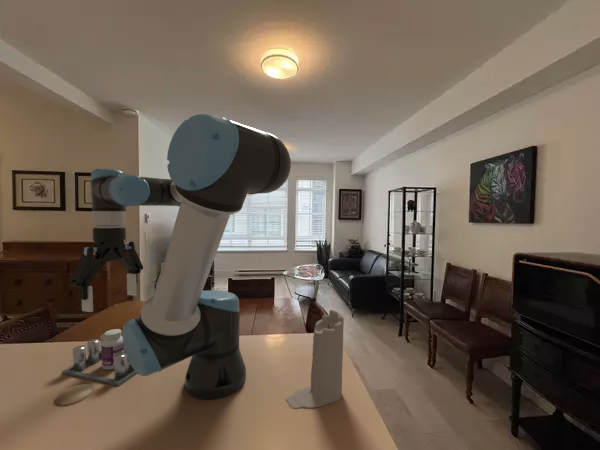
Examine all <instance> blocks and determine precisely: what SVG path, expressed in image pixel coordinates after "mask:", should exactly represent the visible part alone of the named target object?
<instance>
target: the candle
mask: <svg viewBox="0 0 600 450" xmlns="http://www.w3.org/2000/svg"><path fill="white" fill-rule="evenodd" d="M312 337H313V338H312V339H313V340H312V341H313V342H312V359H311V372H310V373H311V374H310V385H309V386H306V387H303V388H299V389H298V390H296V391H294V392H293V394H292V395H290V396H288V397H286V398H285V401H287V404H288V405H289V407H291V408H292V409H299V408H304V409H305V408H306V409H313V408H314V409H315V408H319V407H322V406H325V405H328V404H329V405H330V404H333V403H337V402H338V401H340V400H341V398H342V396H343V395H342V394H343V393H342V392H343V360H344V359H343V355H344V317H343V314H341V313H339V312H338V311H336V310H334V309H330V310H329V314H323V315H322V316H321V319H320V320H317V322H316V323H315V325H314V332H313V336H312Z"/></svg>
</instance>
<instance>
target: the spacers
mask: <svg viewBox="0 0 600 450" xmlns="http://www.w3.org/2000/svg"><path fill="white" fill-rule="evenodd" d="M104 334H105V333H103V334H101V335H100V339H99V338H93V339H90V340H87V343H86V345H78V346H75V347H73V348H72V366H73V371H77V372H82V371H84V370H86V369H87V364H89V365H93V364H96V363H99V362H100V360H101V357H102V342H103V341H104V340H105V338H104ZM86 346H87V347H86ZM86 348H87V351H86ZM100 351H101V355H100ZM86 358H88V362H86ZM133 371H134V369H133V367H132V366H131V364H130V362H129V359H128V357H127V354H126V353H119V354H117V355H115V356H114V369H113V375H114V376H113V379H114V380H118V381H119V380H121V379H122V378H124V377H125V376H127V375H128V373H131V372H133Z"/></svg>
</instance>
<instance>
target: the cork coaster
mask: <svg viewBox="0 0 600 450" xmlns="http://www.w3.org/2000/svg"><path fill="white" fill-rule="evenodd" d="M93 391H94V386H93V385H92V384H91V383H90V384H89V383H82V384H77V385H73V386H70V387H67V388H66V389H64V390H62V391H61V392H60V393H58V394H57V396H56V397H55V403H56V405H59V406H69V405H73V404H76V403H79V402H81V401H83V400H85V399H86V398H88V397H89V396H90V395H92V394H93Z"/></svg>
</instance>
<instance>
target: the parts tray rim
mask: <svg viewBox="0 0 600 450" xmlns="http://www.w3.org/2000/svg"><path fill="white" fill-rule="evenodd" d="M125 353H126V351H125ZM100 356H101V350H100ZM86 363H88V357H86ZM61 372H62V374H63V375H64V374H65V375H68V376H72V377H76V378H82V379H86V380H91V381H95V382H100V383H104V384H109V385H112V386H118V387H120V386H121V385H122V384H124V383H125V382H127V381H128V380H130V379H131V378H133V377H134V376H136V375H137V374H138V373H137V372H136V371H135V370H134V371H133V372H129V374H128V373H127V376H125V377H124V378H122V379H121V380H119V381H118V380H114V378H109V377H105V376H100V375H94V374H90V373H85V372H82V371H80V372H77V371H73V365H71V366H69V367H67V368H65V369H63V370H62V371H61Z"/></svg>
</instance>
